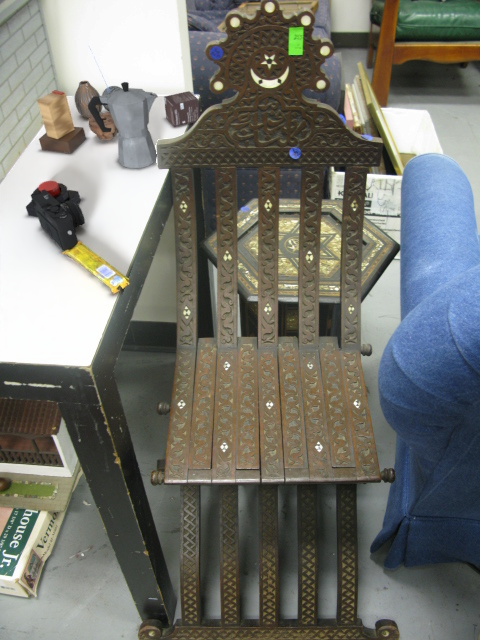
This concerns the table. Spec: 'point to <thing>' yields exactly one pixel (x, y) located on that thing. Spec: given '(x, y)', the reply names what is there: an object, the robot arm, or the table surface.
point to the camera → (58, 218)
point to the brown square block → (63, 141)
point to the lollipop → (108, 91)
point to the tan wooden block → (56, 114)
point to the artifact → (108, 124)
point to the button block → (57, 198)
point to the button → (50, 187)
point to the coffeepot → (129, 124)
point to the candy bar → (97, 266)
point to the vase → (85, 98)
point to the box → (181, 108)
